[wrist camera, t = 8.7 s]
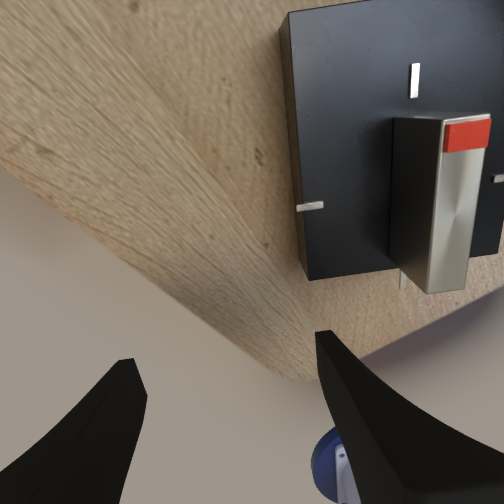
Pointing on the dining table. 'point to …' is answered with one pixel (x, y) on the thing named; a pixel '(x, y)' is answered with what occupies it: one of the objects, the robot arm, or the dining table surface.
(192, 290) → the dining table surface
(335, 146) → the switch base
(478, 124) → the red-topped metal block
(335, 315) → the dining table surface
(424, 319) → the dining table surface
